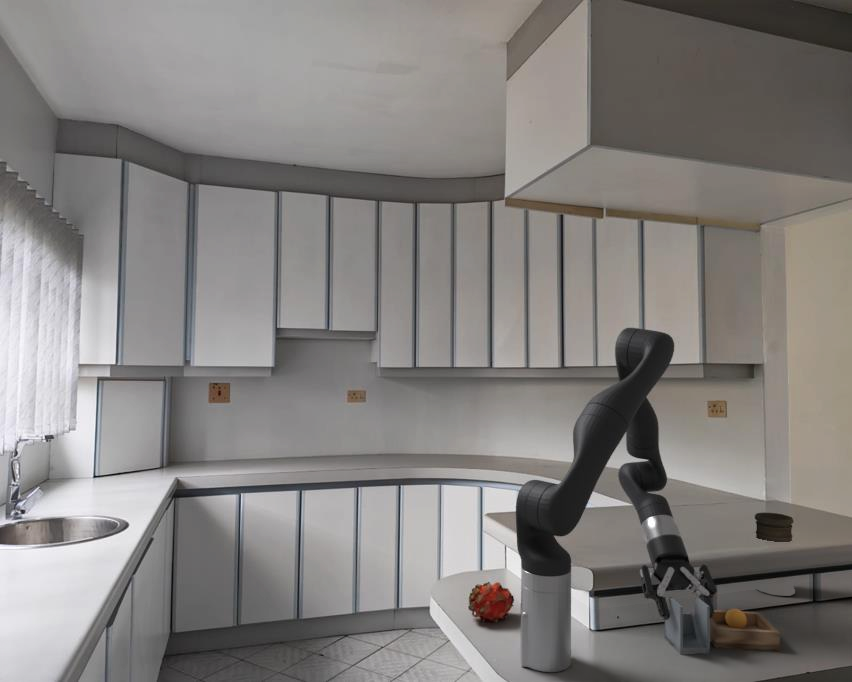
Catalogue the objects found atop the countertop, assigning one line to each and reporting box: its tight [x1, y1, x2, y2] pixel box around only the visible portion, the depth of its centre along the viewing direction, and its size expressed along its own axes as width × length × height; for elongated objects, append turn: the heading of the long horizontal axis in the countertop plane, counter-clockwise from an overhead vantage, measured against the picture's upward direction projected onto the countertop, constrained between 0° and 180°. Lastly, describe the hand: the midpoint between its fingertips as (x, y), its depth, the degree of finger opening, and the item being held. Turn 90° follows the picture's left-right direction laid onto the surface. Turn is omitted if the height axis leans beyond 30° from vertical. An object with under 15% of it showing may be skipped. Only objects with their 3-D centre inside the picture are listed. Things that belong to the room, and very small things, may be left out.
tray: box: [710, 609, 781, 652], centre depth 132 cm, size 12×10×4 cm
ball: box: [725, 608, 747, 629], centre depth 133 cm, size 4×4×4 cm
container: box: [754, 512, 794, 542], centre depth 158 cm, size 9×9×18 cm
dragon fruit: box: [467, 581, 515, 623], centre depth 140 cm, size 8×8×12 cm
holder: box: [664, 596, 711, 655], centre depth 128 cm, size 7×6×9 cm
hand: (688, 617), depth 127 cm, fingers open, 8 cm apart
